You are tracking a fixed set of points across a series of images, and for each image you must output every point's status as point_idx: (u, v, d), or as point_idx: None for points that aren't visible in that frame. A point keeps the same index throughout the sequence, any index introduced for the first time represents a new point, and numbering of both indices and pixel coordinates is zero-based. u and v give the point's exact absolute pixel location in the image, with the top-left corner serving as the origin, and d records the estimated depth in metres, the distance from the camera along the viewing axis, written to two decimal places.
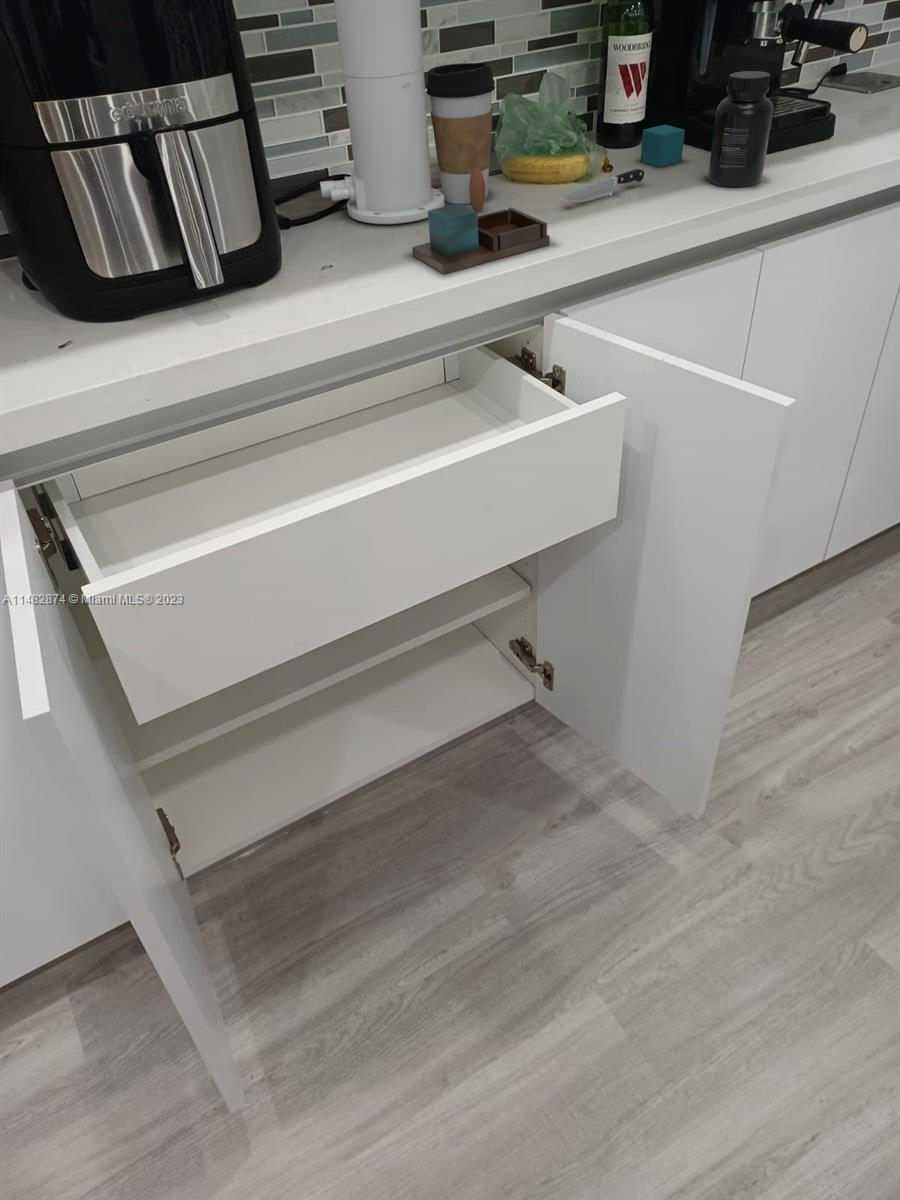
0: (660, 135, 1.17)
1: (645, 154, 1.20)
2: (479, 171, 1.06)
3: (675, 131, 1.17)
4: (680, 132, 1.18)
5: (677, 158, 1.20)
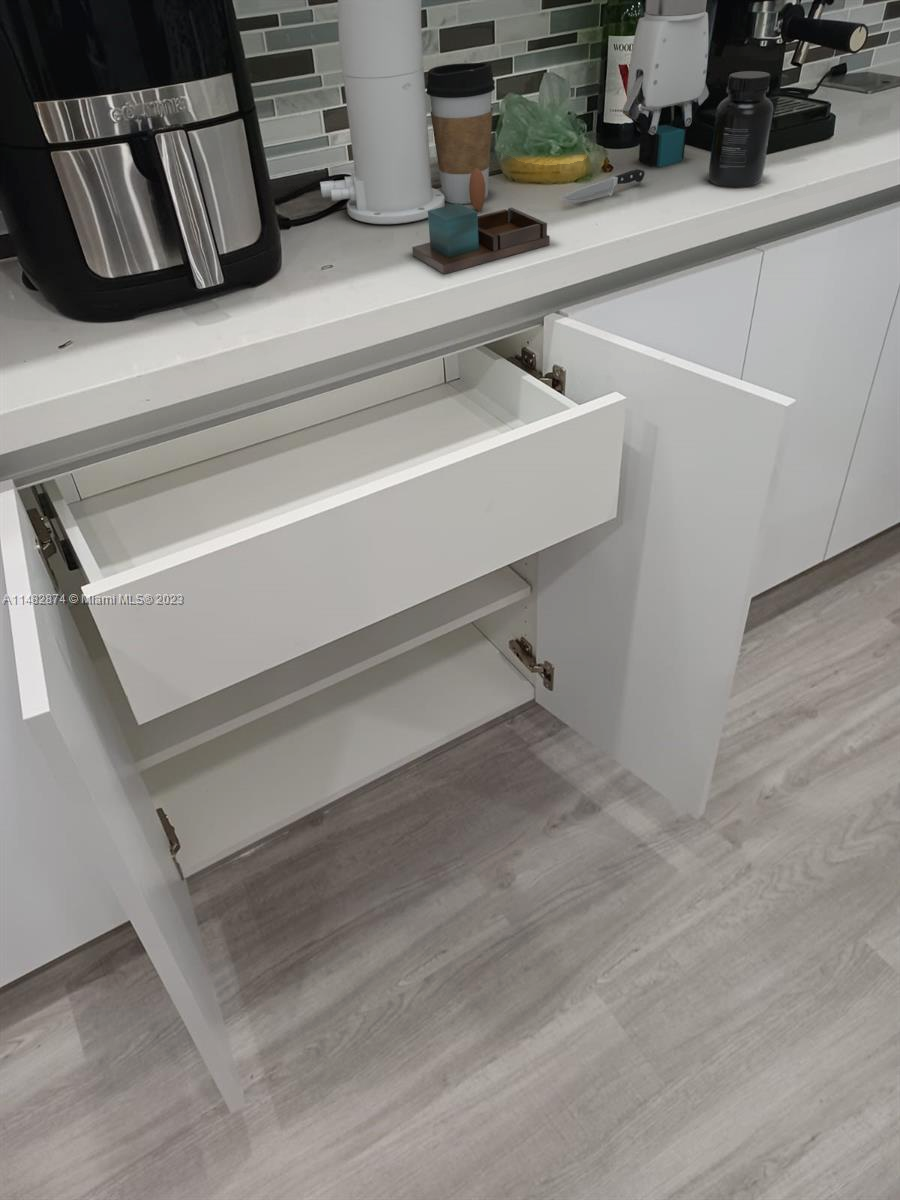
0: (660, 135, 1.17)
1: None
2: (479, 171, 1.06)
3: (675, 131, 1.17)
4: (680, 132, 1.18)
5: (677, 158, 1.20)
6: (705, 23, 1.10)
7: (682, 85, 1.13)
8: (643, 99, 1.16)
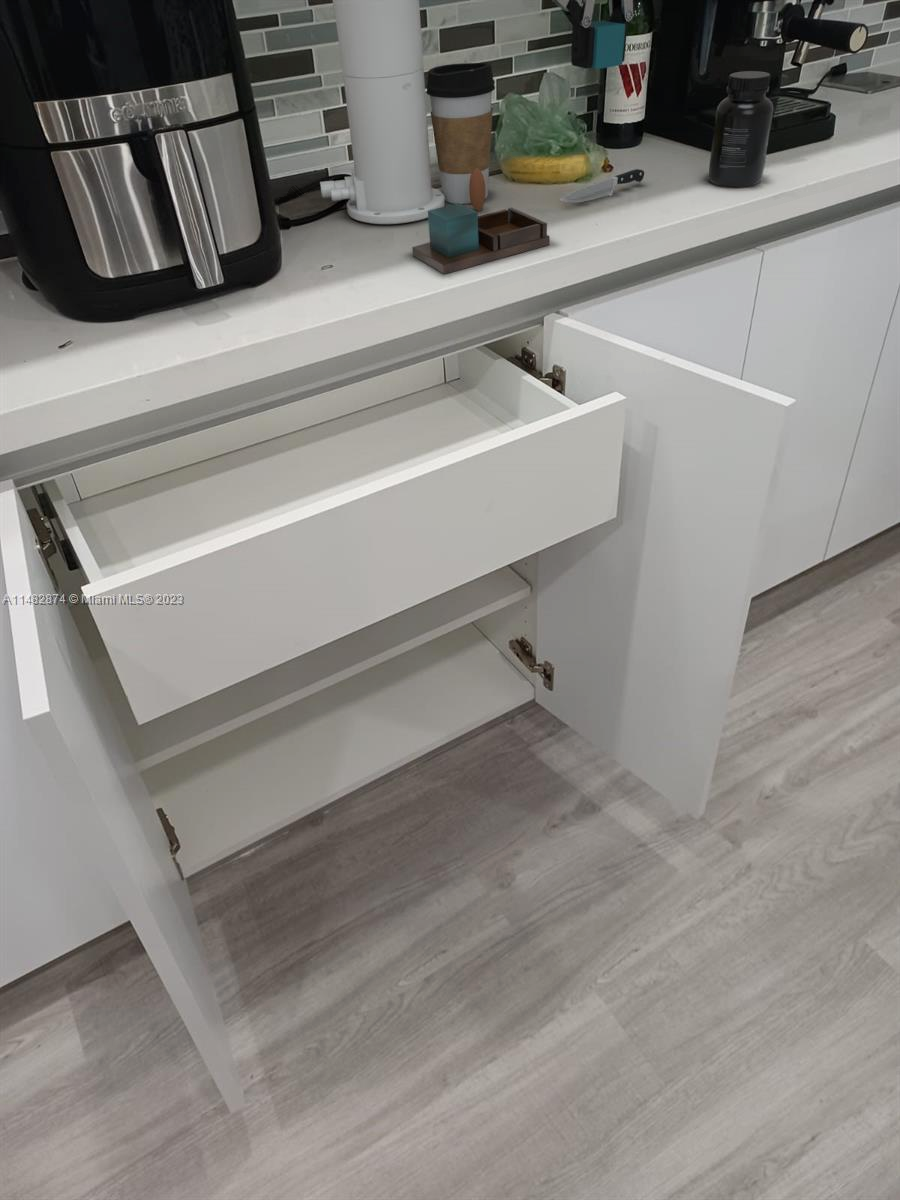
0: (596, 29, 0.97)
1: None
2: (479, 171, 1.06)
3: (614, 25, 0.98)
4: (620, 27, 0.98)
5: (616, 59, 1.01)
6: None
7: None
8: None
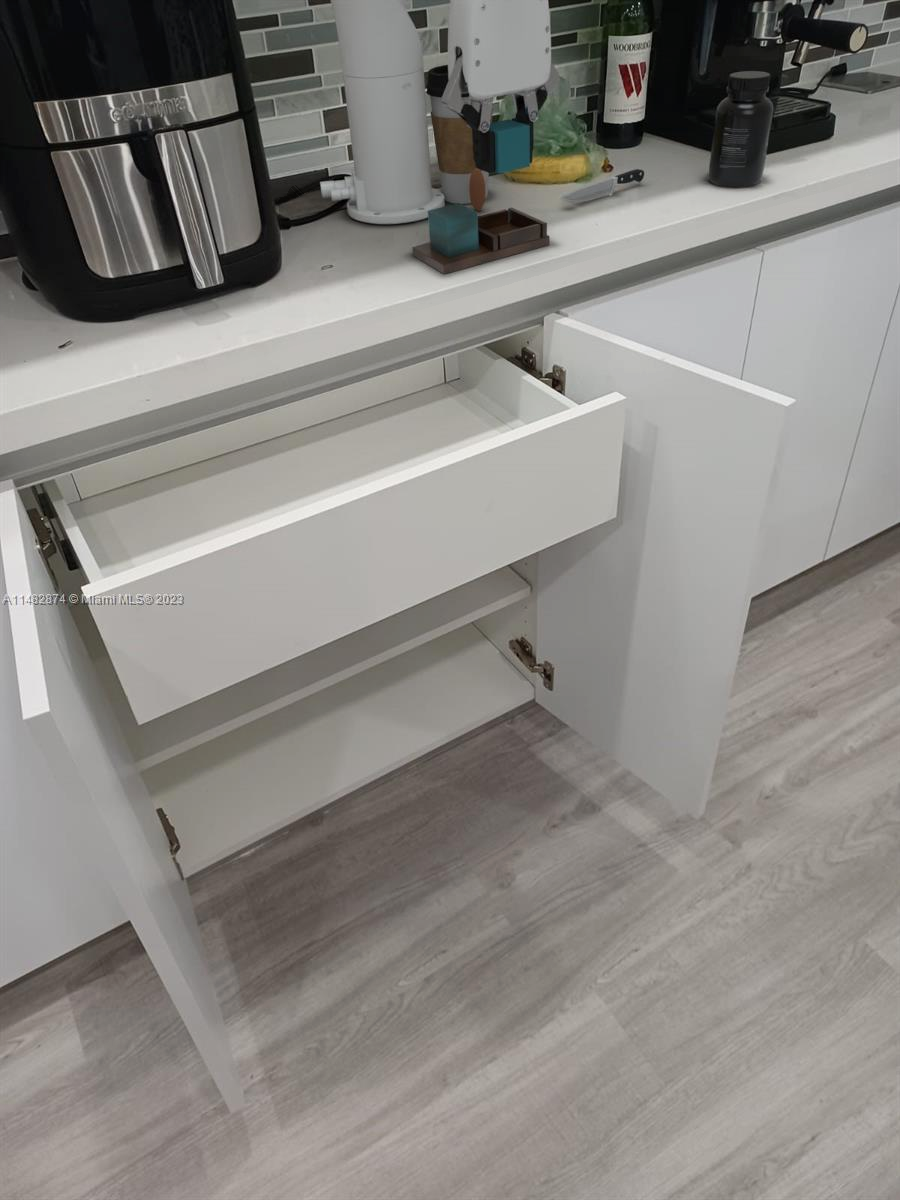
0: (496, 132, 0.90)
1: None
2: (479, 171, 1.06)
3: (516, 127, 0.91)
4: (523, 128, 0.91)
5: (523, 162, 0.93)
6: None
7: (517, 67, 0.87)
8: None
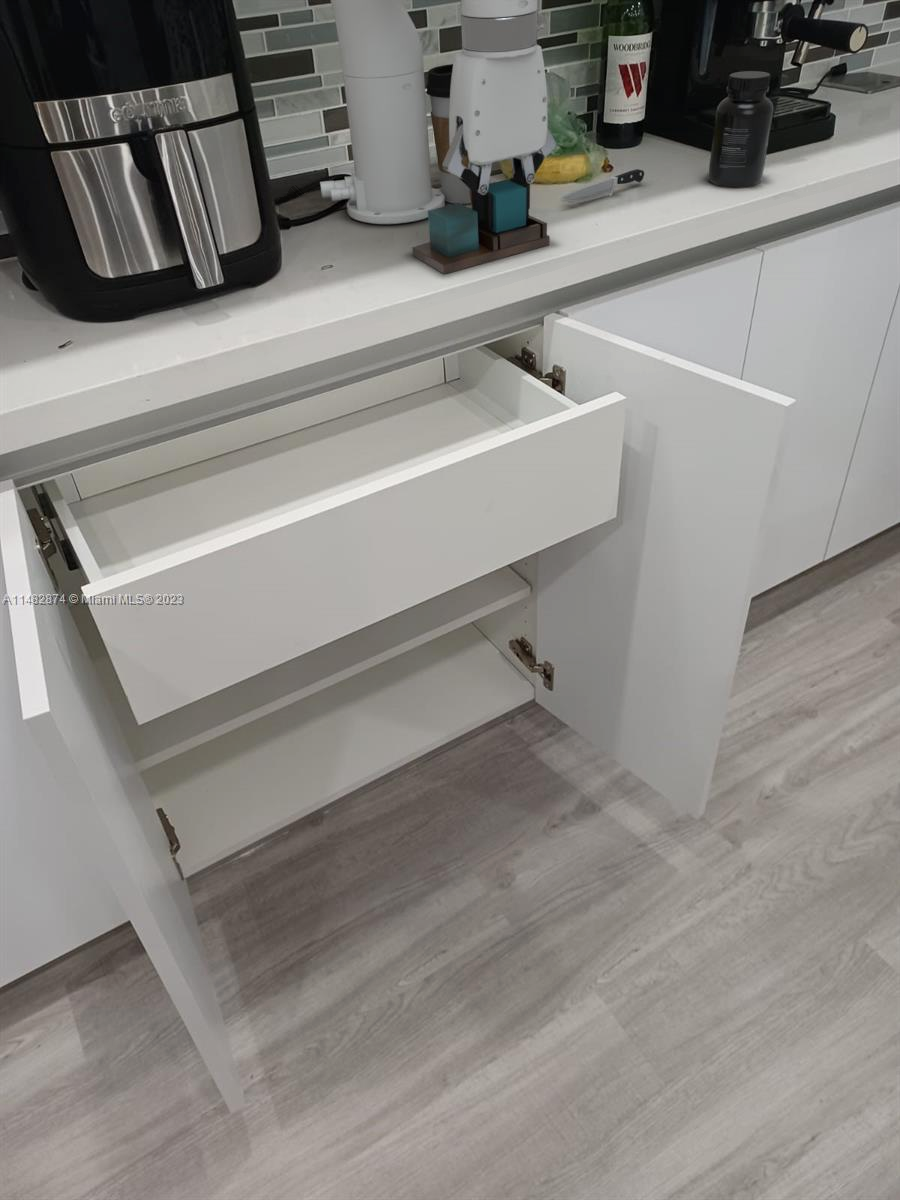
0: (494, 195, 0.95)
1: None
2: None
3: (514, 190, 0.95)
4: (520, 191, 0.95)
5: (519, 221, 0.98)
6: (539, 59, 0.88)
7: (515, 135, 0.91)
8: None
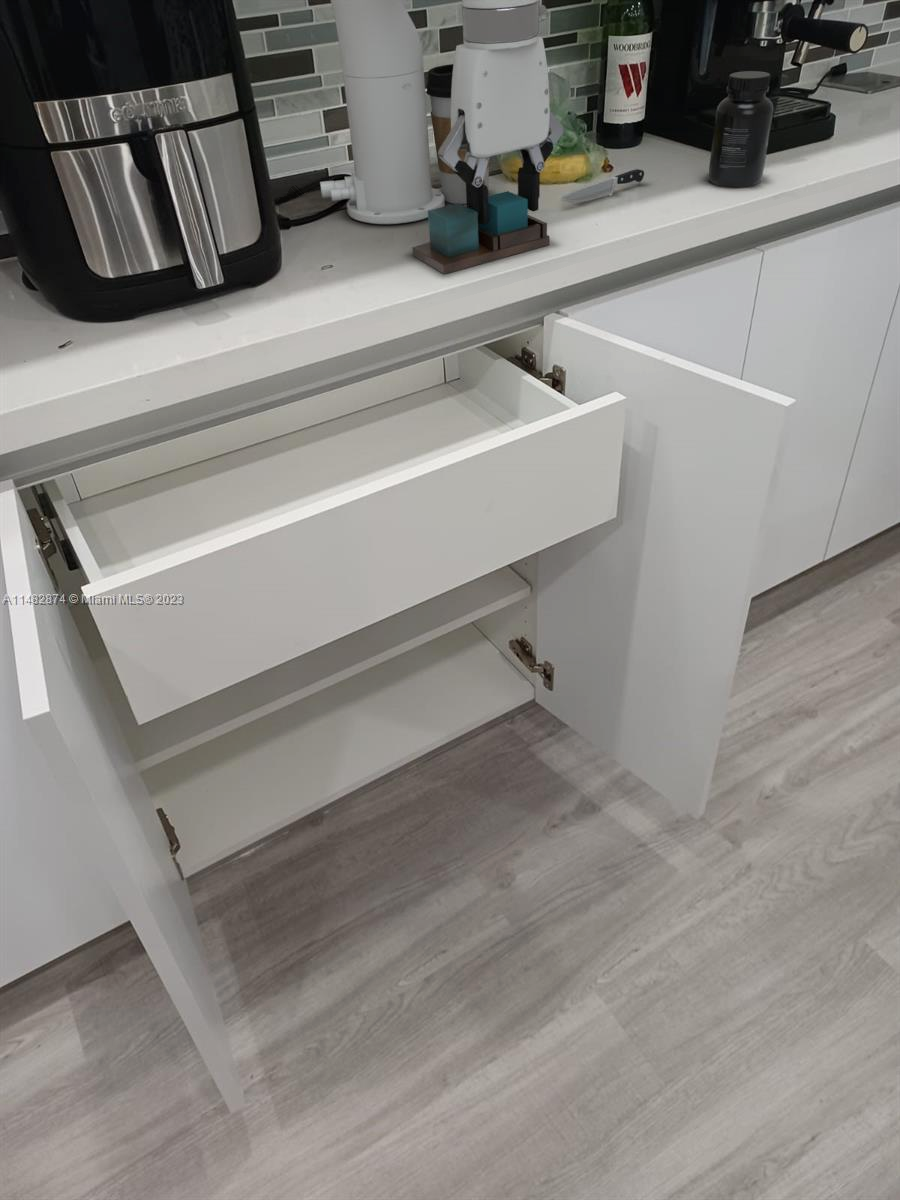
0: (495, 207, 0.95)
1: (483, 227, 0.99)
2: None
3: (515, 201, 0.96)
4: (521, 202, 0.96)
5: None
6: (541, 51, 0.88)
7: (517, 128, 0.91)
8: None
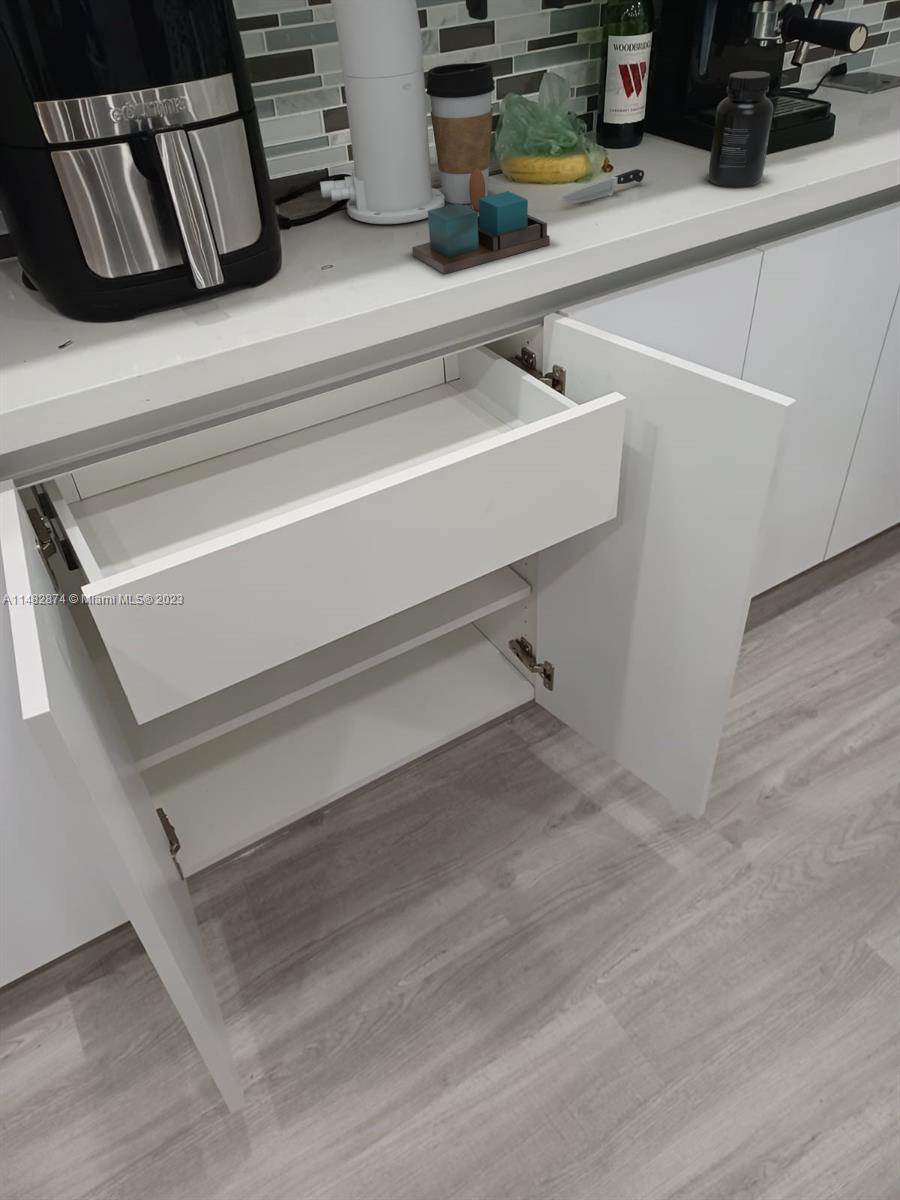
0: (495, 207, 0.95)
1: (483, 227, 0.99)
2: (479, 171, 1.06)
3: (515, 201, 0.96)
4: (521, 202, 0.96)
5: None
6: None
7: None
8: None
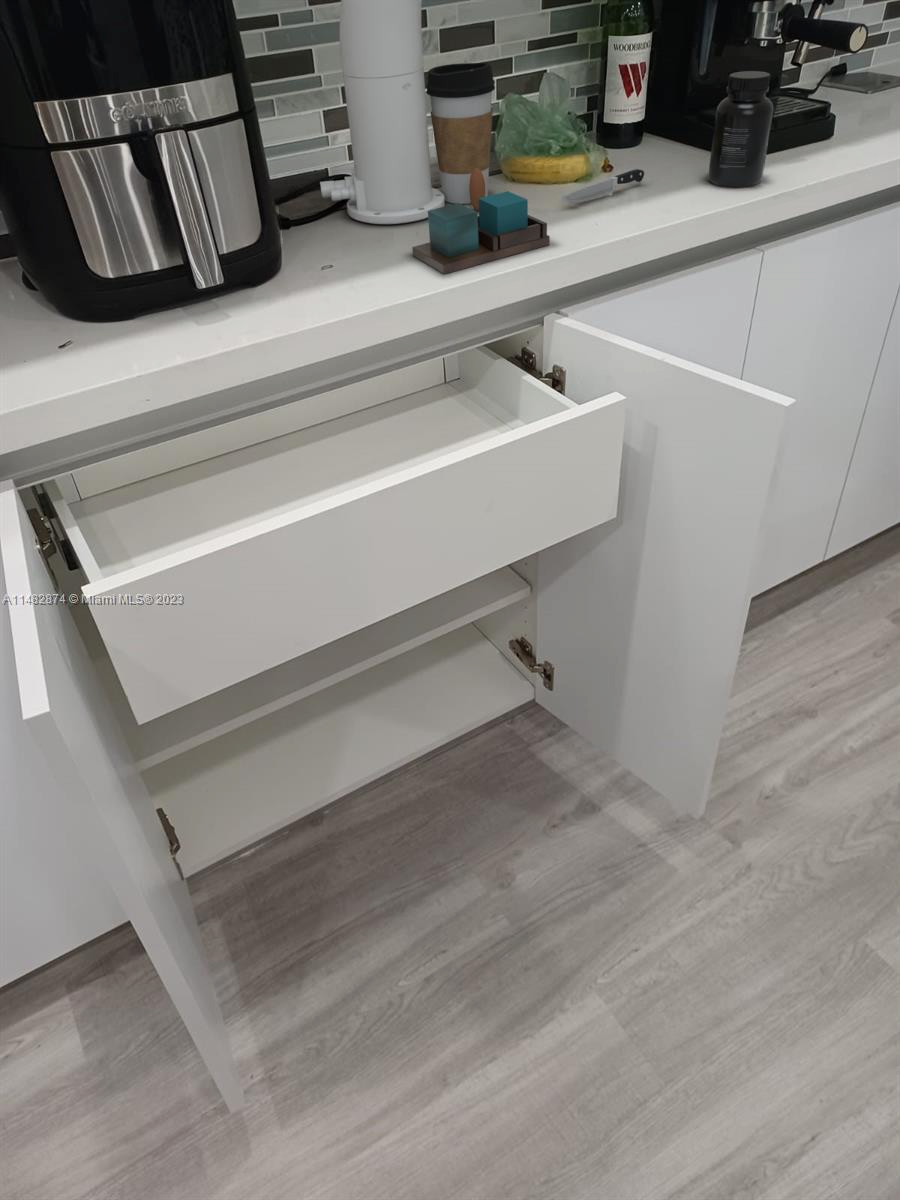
0: (495, 207, 0.95)
1: (483, 227, 0.99)
2: (479, 171, 1.06)
3: (515, 201, 0.96)
4: (521, 202, 0.96)
5: None
6: None
7: None
8: None
